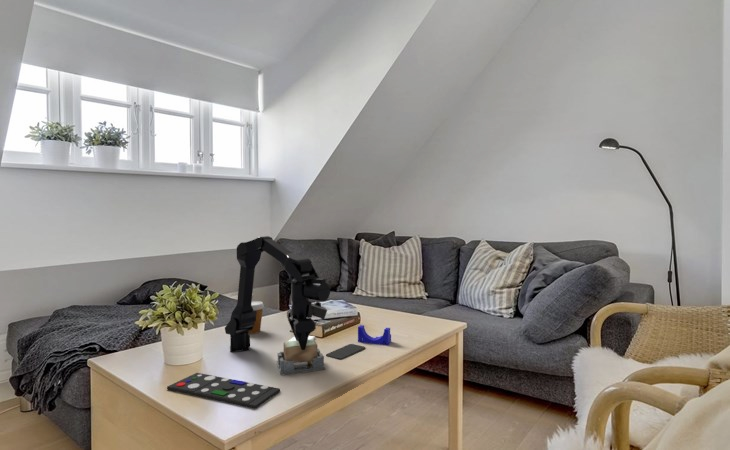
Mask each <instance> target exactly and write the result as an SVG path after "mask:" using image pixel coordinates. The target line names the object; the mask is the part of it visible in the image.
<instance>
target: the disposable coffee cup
mask: <svg viewBox="0 0 730 450" xmlns="http://www.w3.org/2000/svg"><path fill="white" fill-rule="evenodd" d="M251 306H252V308H253V310H254V311H256V312H257V314H256V321H255V324H254V326H253V330H251V331H248V334H250V335H252V334H253V335H254V334H258V333H260V332H261V328H262V319H263V318H262V317H263V309H264V307H265V305H264V303H263V301H260V300H252V303H251Z"/></svg>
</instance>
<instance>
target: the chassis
mask: <svg viewBox="0 0 730 450" xmlns="http://www.w3.org/2000/svg"><path fill="white" fill-rule="evenodd" d="M317 352H318V357H312V361H309V362H300V363H294V361H293V360H284V350H283V351H279V352H277V360H276V366H277V369H278V371H279V375H280V376H285V375H293V374H301V373H308V372H317V371H318V372H319V371H325V370H326V366H325V356H324V355H323V353H321V350H320V349H319V348H317Z"/></svg>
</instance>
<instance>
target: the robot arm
mask: <svg viewBox="0 0 730 450" xmlns="http://www.w3.org/2000/svg"><path fill="white" fill-rule="evenodd" d="M264 252H265V253H267V254H268V255H269V256H271V257H272V258H273V259H275V260H276V261H277V262H279V263H281V265H283V268H284V271H285V272H286V273H287V274H288V275H289V276H290V277H289V278H287V280H286V283H288V284H291V285H290V287H291V288H290V289H291V291H290V293H291V294H290V295H291V299H290V302H289V303H290V304H291V308H289V309H288V310H287V311H286V318H287V322H288V323H289V326H290V328H291V331H292V333H293V337H294V336H295V338H296V341H298V342H299V344H300V347H301V350H305V348H306V344H307V340H308V337H309V336H310V335H311V334H312V332H314V331H315V330H316V329H317V327H316V326H317V325H316V322H315V321H314V319H312V318H313V317H315V318H320V319H322V320H325V318H326V315H327V313H328V309H327V308H326V307H324V306H322V303H321V302H326V301H327V300H328V298H329V297H330V294H331V288H330V285H329V284H328V283H327V281H326V280H327V279H325V278H320V277H319V274H318V273H317V272H316V269H315V267H314V265H313V263H312V260H311V259H310V258H309V257H306V256H304V255H299V254H296V253H293V252H291V251H290V250H288V249H287V248H286V247H284V246H283V245H281V244H280V243H278V242H277V241H275V240H274V239H273V238H272V236H269V235H266V236H258V237H256V238H254V239H252V240H249V241H248V240H247V241H246V242H244V241H243V242H240V243H239V244H237V246H236V260H237V261H238V262H237V263H239V265H240V270H239V279H238V280H239V281H238V290H237V301H236V306H235V307H234V308H233V309H232V312H231V315H230V320H229V322H228V323H227V324H226V326H225V327H224V331H225V334H226V335H230V338H229V339H230V340H229V341H230V345H229V350H230V351H229V352H231V353H233V352H243V351H249V350H250V347H251V334H248V331H251V330H253V326H254V324H255V321H256V314H257V312H256V311H254V310H253V308H252V306H251V303H252V301H253V291H254V281H255V271H256V266H257V265H258V263H259V262H260V261H261V256H262V253H264ZM311 300H312V301H315V302H313V303H312V301H311Z"/></svg>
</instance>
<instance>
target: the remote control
mask: <svg viewBox="0 0 730 450" xmlns="http://www.w3.org/2000/svg"><path fill="white" fill-rule="evenodd" d="M166 389H168V390H167V391H170V390H171V391H170V392H175V393H176V392H177V393H180V394H184V395H189V396H194V397H199V398H202V399H207V400H212V401H216V402H221V403H226V404H230V405H234V406H239V407H244V408H249V409H252V410H256V409H258V408H259V407H260V406H262V405H263V404H265V403H266V402H267V401H269V400H270V399H272V398H273V397H275V396H277V395H278V394H279V393H280V392H281V388H279V387H274V386H268V385H262V384H257V383H254V382H247V381H243V380H238V379H231V378H228V377H227V378H226V377H221V376H216V375H211V374H206V373H201V372H200V373H199V372H195V373H193V374H191V375H189V376H186V377H184V378H182V379H181V380H179V381H176V382H174V383H172V384H170V385H167V387H166Z"/></svg>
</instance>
